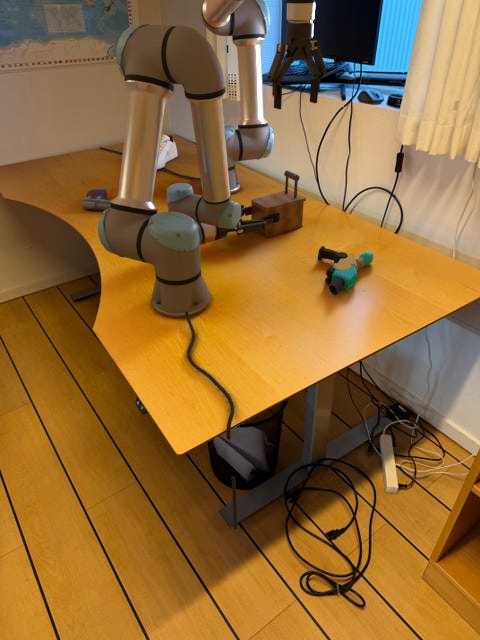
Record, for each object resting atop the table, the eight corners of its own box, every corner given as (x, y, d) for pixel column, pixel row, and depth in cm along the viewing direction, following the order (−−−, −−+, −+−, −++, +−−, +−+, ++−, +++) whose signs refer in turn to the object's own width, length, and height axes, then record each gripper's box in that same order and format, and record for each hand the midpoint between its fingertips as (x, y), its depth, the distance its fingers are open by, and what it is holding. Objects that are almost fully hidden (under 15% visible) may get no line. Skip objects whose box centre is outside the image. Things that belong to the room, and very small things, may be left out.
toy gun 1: (139, 199, 183) (123, 215, 172) (94, 196, 187) (76, 211, 175) (137, 189, 181) (122, 205, 169) (92, 186, 184) (73, 201, 172)
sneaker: (133, 173, 208) (129, 144, 201) (161, 153, 230) (158, 127, 223) (155, 175, 205) (151, 146, 198) (180, 155, 227) (178, 129, 220)
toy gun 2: (295, 275, 127) (350, 289, 121) (327, 237, 145) (376, 248, 140) (294, 289, 129) (348, 303, 124) (326, 250, 148) (374, 261, 142)
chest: (285, 217, 168) (287, 193, 163) (302, 226, 162) (303, 201, 157) (251, 228, 162) (251, 202, 157) (266, 237, 156) (267, 211, 150)
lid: (289, 192, 163) (290, 167, 158) (305, 200, 157) (307, 174, 152) (251, 202, 157) (251, 176, 151) (267, 211, 150) (267, 184, 145)
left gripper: (195, 227, 157) (251, 211, 167) (230, 253, 142) (289, 234, 152) (193, 205, 152) (251, 191, 162) (229, 230, 138) (290, 212, 147)
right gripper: (325, 18, 137) (319, 98, 150) (254, 23, 126) (254, 108, 139) (343, 20, 132) (335, 102, 145) (271, 25, 121) (269, 113, 134)
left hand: (269, 212), depth 157 cm, fingers closed on chest, 9 cm apart
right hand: (295, 105), depth 142 cm, fingers open, 13 cm apart
